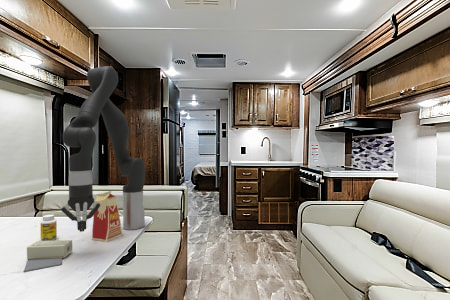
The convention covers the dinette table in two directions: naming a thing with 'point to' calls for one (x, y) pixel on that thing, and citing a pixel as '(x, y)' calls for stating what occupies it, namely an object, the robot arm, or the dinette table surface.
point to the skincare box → (49, 249)
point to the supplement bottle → (48, 228)
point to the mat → (42, 263)
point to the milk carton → (106, 218)
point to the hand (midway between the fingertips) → (81, 230)
